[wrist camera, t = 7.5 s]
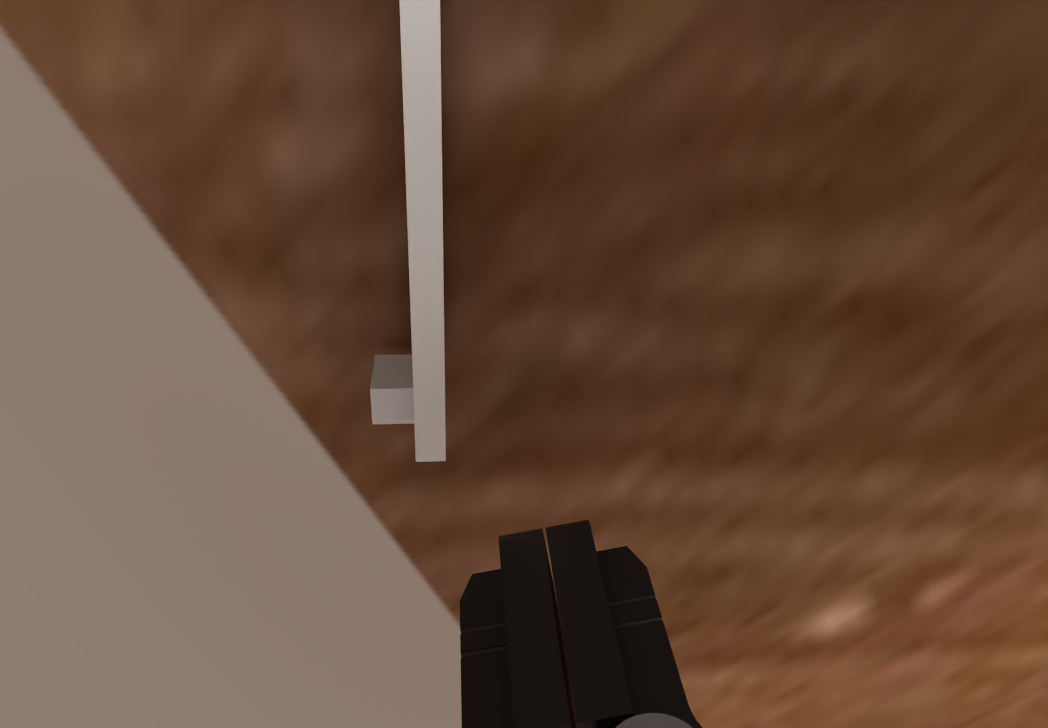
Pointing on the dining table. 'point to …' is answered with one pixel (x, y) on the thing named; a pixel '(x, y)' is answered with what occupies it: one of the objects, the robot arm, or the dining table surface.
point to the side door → (420, 244)
